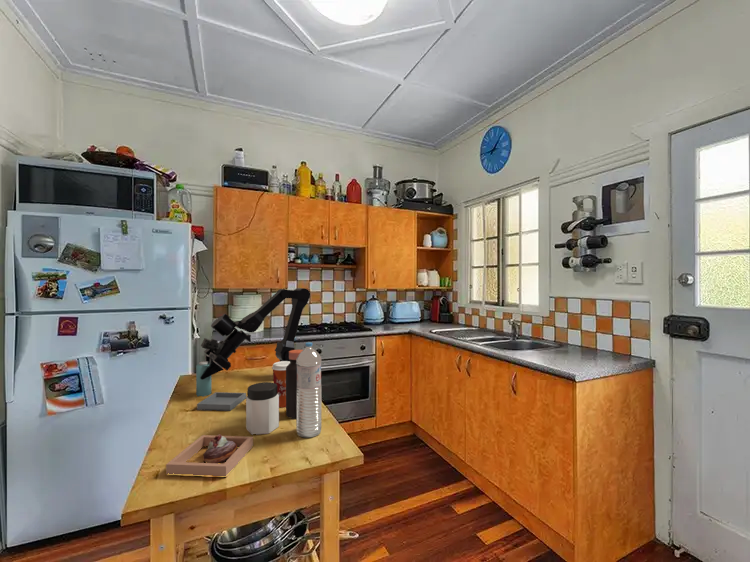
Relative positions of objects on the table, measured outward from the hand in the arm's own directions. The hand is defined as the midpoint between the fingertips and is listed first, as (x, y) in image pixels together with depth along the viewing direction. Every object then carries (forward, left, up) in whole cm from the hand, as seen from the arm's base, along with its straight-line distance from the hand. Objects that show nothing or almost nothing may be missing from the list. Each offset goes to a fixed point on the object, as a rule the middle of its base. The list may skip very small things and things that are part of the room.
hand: (199, 377), depth 122 cm
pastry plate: (-29, +42, -7) cm, 52 cm away
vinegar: (-41, +15, -7) cm, 44 cm away
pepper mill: (-1, -1, -7) cm, 7 cm away
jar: (-34, +25, -7) cm, 43 cm away
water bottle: (-48, +27, -7) cm, 56 cm away
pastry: (-30, +40, -7) cm, 51 cm away
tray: (-13, +8, -7) cm, 17 cm away
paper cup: (-34, +7, -7) cm, 35 cm away
